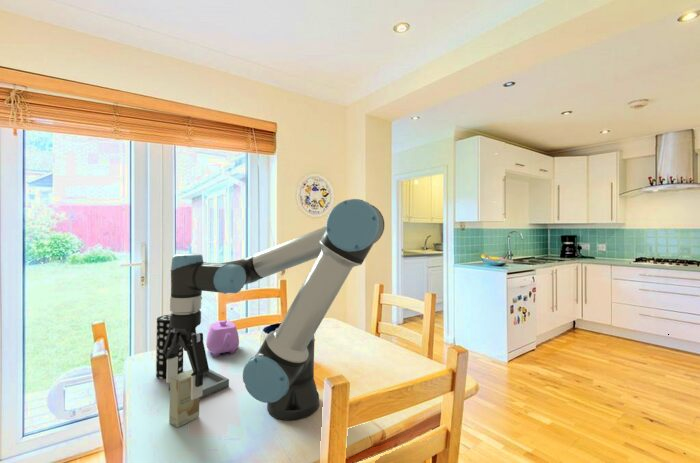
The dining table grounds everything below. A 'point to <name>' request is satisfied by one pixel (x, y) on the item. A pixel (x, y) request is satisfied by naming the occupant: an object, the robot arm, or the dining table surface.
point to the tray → (212, 383)
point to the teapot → (222, 338)
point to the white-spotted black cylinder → (161, 358)
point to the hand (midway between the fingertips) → (183, 388)
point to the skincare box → (182, 400)
